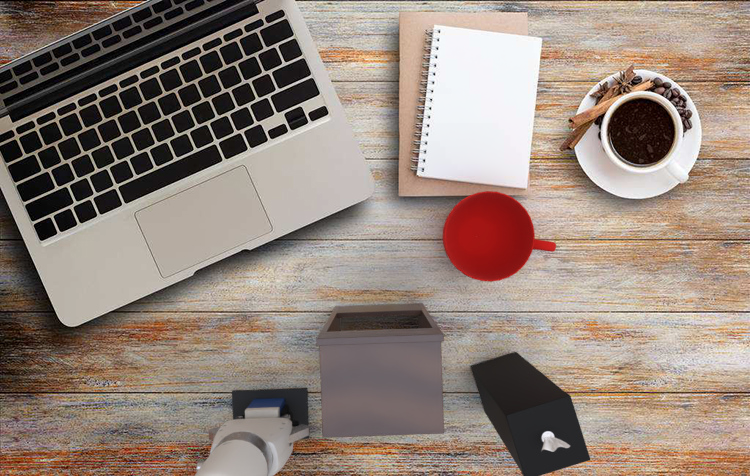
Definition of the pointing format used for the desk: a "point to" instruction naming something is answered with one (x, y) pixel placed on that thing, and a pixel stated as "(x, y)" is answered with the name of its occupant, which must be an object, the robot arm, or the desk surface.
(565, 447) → the tissue box
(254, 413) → the box
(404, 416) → the square planter pot
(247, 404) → the mat
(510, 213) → the ceramic cup
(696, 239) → the desk surface
